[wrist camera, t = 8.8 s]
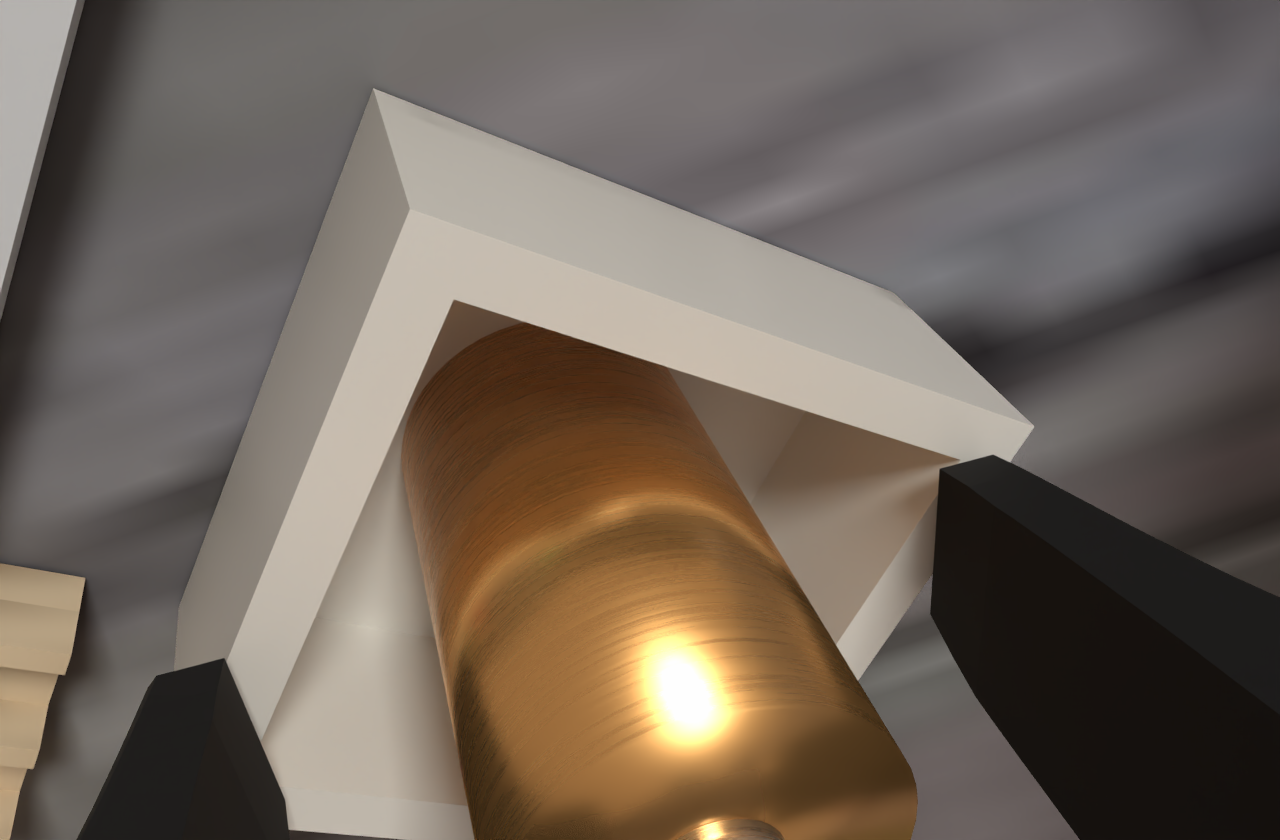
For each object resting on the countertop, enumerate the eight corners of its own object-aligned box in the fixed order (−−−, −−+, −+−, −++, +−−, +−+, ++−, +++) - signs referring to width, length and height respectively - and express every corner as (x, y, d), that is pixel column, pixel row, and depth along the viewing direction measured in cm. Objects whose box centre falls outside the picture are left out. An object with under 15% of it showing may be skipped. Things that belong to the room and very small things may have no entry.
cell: (664, 285, 13) (948, 692, 8) (698, 516, 15) (938, 965, 10) (367, 363, 12) (453, 856, 7) (440, 592, 14) (549, 1109, 9)
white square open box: (893, 292, 14) (1034, 426, 12) (655, 687, 17) (728, 867, 14) (373, 88, 11) (409, 208, 9) (178, 607, 14) (162, 818, 11)
